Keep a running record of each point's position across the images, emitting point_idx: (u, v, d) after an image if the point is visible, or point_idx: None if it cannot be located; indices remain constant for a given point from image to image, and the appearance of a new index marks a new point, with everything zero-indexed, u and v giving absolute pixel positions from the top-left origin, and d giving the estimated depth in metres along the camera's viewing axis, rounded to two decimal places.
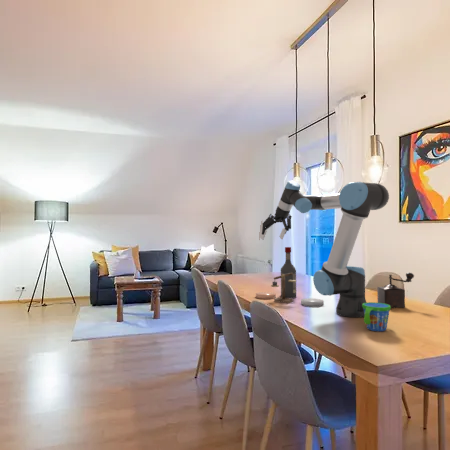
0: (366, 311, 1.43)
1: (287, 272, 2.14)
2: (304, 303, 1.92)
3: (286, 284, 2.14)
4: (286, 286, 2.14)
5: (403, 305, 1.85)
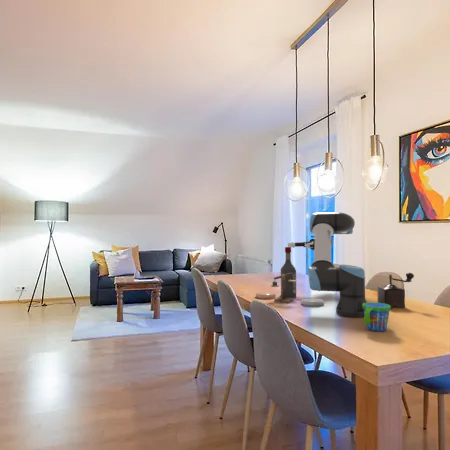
0: (366, 311, 1.43)
1: (287, 272, 2.14)
2: (304, 303, 1.92)
3: (286, 284, 2.14)
4: (286, 286, 2.14)
5: (403, 305, 1.85)
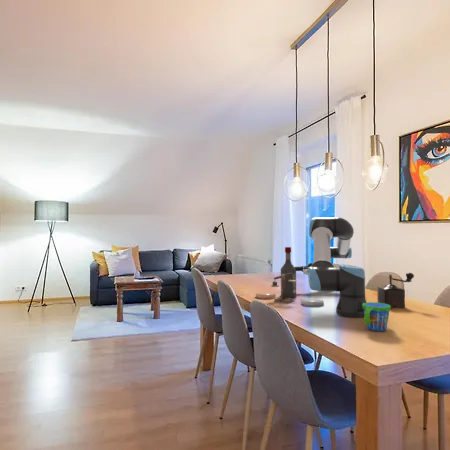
0: (366, 311, 1.43)
1: (287, 272, 2.14)
2: (304, 303, 1.92)
3: (286, 284, 2.14)
4: (286, 286, 2.14)
5: (403, 305, 1.85)
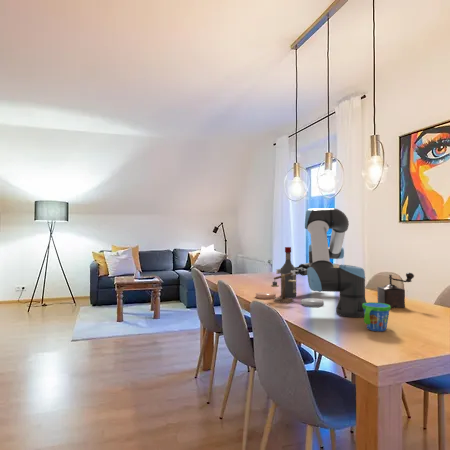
0: (366, 311, 1.43)
1: (287, 272, 2.14)
2: (304, 303, 1.92)
3: (286, 284, 2.14)
4: (286, 286, 2.14)
5: (403, 305, 1.85)
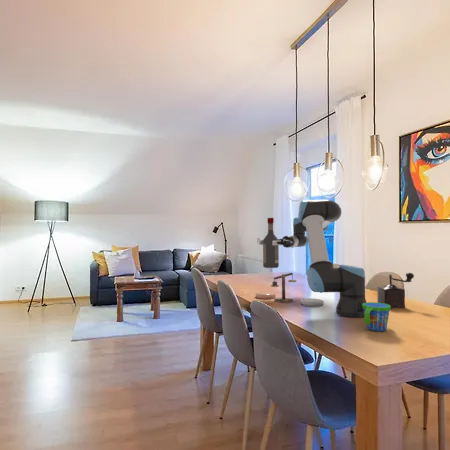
0: (366, 311, 1.43)
1: (269, 242, 2.14)
2: (304, 303, 1.92)
3: (268, 254, 2.14)
4: (268, 256, 2.14)
5: (403, 305, 1.85)
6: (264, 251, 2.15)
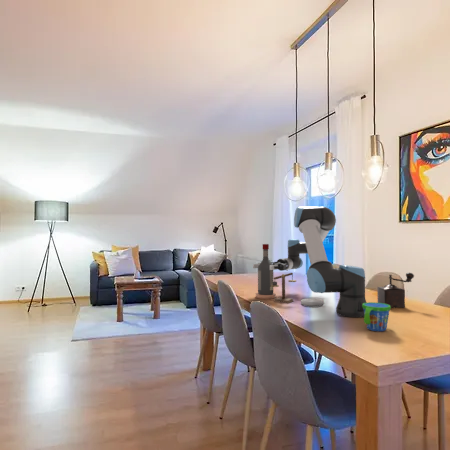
0: (366, 311, 1.43)
1: (264, 269, 2.13)
2: (304, 303, 1.92)
3: (263, 281, 2.13)
4: (263, 283, 2.13)
5: (403, 305, 1.85)
6: (259, 278, 2.14)
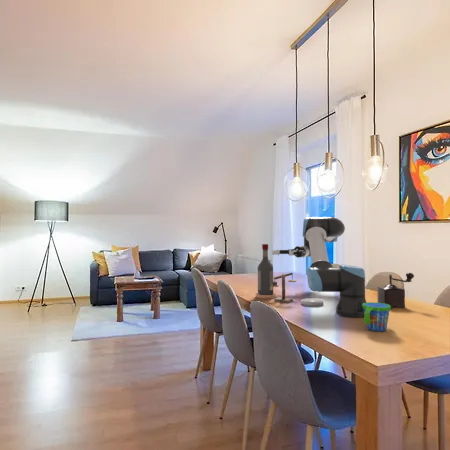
0: (366, 311, 1.43)
1: (264, 269, 2.13)
2: (304, 303, 1.92)
3: (263, 281, 2.13)
4: (263, 283, 2.13)
5: (403, 305, 1.85)
6: (259, 278, 2.14)
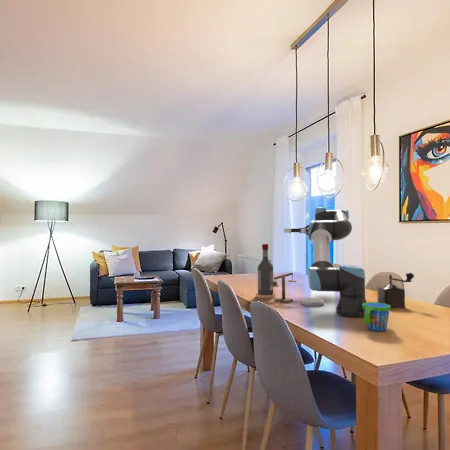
0: (366, 311, 1.43)
1: (264, 269, 2.13)
2: (304, 303, 1.92)
3: (263, 281, 2.13)
4: (263, 283, 2.13)
5: (403, 305, 1.85)
6: (259, 278, 2.14)
